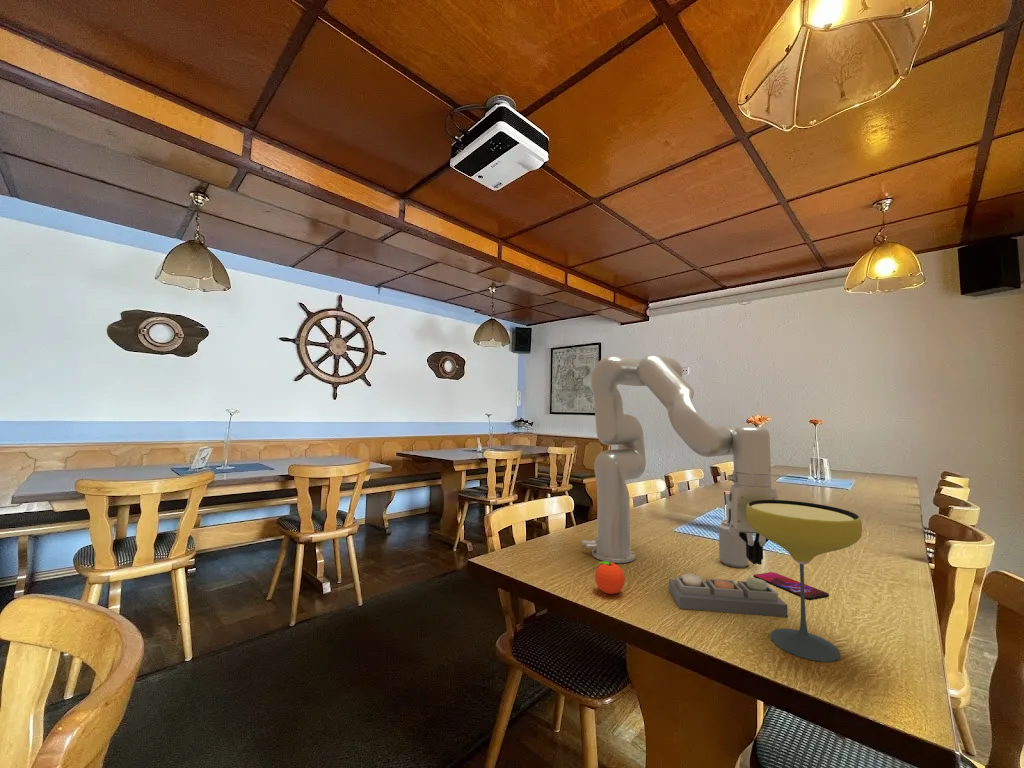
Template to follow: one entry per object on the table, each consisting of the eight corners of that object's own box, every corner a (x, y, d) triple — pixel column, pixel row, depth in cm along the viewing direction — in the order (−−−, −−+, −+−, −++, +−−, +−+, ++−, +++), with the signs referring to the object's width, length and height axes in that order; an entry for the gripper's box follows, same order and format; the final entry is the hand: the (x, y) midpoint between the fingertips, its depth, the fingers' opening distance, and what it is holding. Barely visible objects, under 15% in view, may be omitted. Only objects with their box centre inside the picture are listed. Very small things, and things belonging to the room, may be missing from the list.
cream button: (685, 586, 95) (685, 579, 95) (680, 579, 99) (680, 573, 99) (703, 588, 94) (703, 580, 94) (698, 581, 98) (698, 574, 98)
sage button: (751, 591, 93) (751, 584, 93) (743, 584, 97) (743, 577, 97) (770, 592, 92) (770, 585, 92) (762, 585, 96) (762, 578, 96)
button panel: (679, 608, 92) (679, 590, 92) (669, 589, 102) (668, 572, 102) (787, 617, 89) (787, 597, 89) (765, 596, 99) (765, 579, 99)
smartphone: (772, 571, 114) (830, 593, 100) (773, 575, 114) (831, 597, 100) (751, 574, 111) (808, 598, 97) (751, 578, 111) (808, 602, 97)
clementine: (585, 591, 100) (585, 561, 100) (600, 583, 105) (600, 554, 106) (616, 602, 95) (616, 570, 95) (629, 592, 100) (629, 562, 100)
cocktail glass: (881, 652, 76) (875, 513, 78) (846, 689, 66) (840, 527, 67) (773, 612, 91) (770, 496, 92) (730, 637, 80) (728, 505, 82)
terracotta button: (717, 593, 94) (717, 586, 94) (711, 586, 98) (711, 579, 98) (736, 594, 93) (736, 587, 93) (730, 587, 97) (729, 580, 97)
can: (741, 560, 124) (740, 518, 125) (753, 569, 116) (752, 525, 117) (715, 558, 124) (714, 517, 125) (725, 567, 117) (724, 524, 118)
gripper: (723, 482, 94) (725, 566, 92) (796, 484, 91) (799, 570, 90) (712, 477, 101) (714, 555, 100) (779, 479, 99) (782, 558, 97)
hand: (754, 562), depth 95 cm, fingers closed
